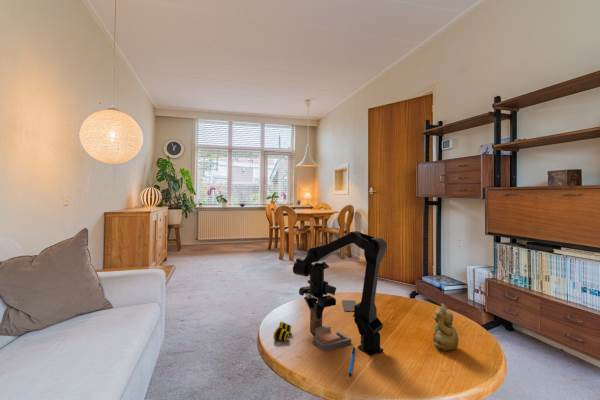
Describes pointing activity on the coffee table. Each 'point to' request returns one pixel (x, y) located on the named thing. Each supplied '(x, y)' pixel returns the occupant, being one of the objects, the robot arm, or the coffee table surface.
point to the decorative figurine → (444, 330)
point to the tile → (328, 337)
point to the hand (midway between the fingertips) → (316, 317)
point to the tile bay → (324, 347)
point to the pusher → (317, 324)
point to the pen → (351, 362)
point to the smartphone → (348, 305)
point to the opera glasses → (282, 331)
